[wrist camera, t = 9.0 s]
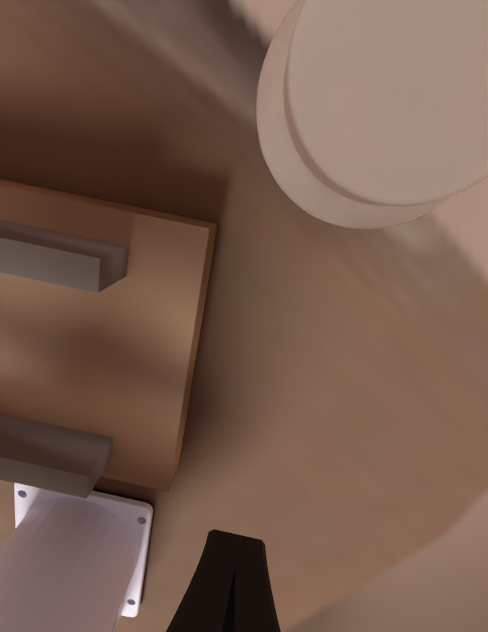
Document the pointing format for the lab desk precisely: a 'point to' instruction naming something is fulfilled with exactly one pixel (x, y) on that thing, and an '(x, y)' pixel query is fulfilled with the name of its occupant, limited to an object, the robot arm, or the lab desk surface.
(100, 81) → the lab desk surface
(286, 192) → the supplement bottle
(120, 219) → the tunnel deck
